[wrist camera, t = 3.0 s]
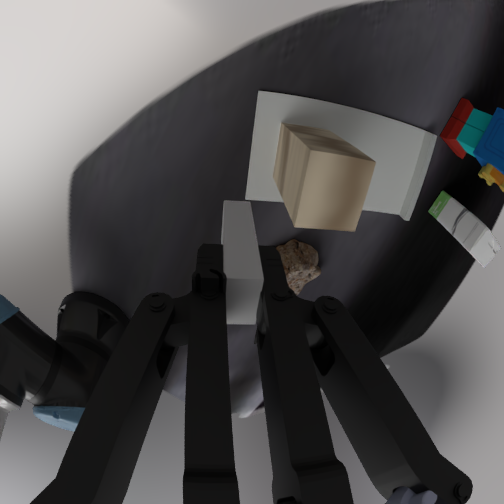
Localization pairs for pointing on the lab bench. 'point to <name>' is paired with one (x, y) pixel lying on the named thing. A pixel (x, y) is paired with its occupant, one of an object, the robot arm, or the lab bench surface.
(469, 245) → the ink box
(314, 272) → the rock
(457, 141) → the toy robot
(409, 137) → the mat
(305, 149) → the block
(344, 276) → the lab bench surface
